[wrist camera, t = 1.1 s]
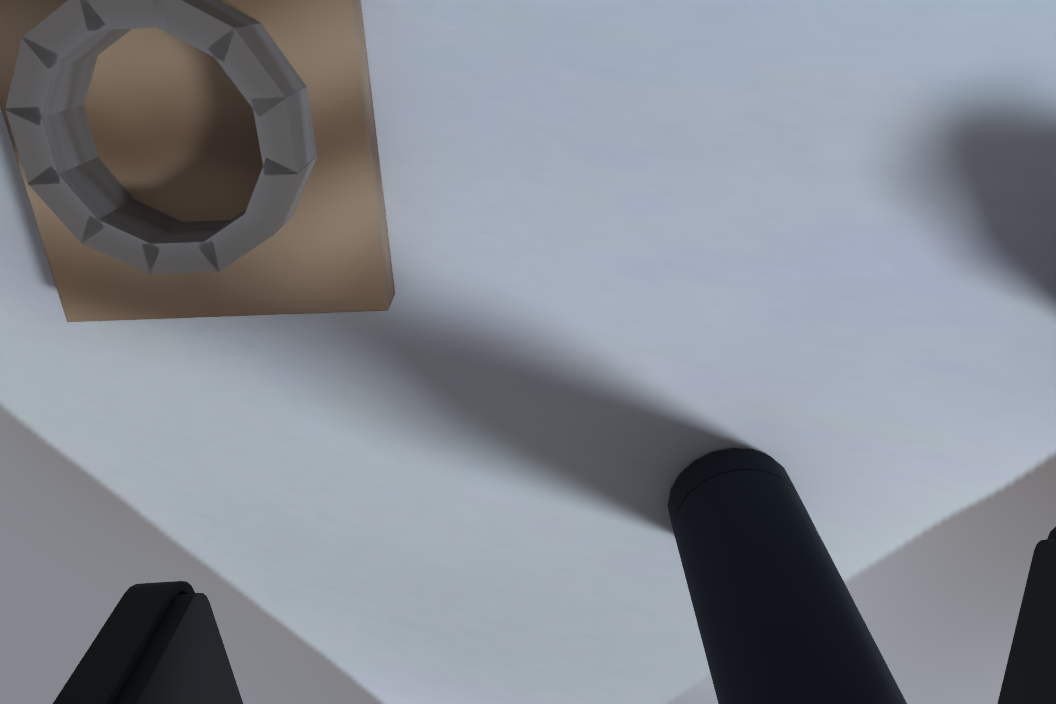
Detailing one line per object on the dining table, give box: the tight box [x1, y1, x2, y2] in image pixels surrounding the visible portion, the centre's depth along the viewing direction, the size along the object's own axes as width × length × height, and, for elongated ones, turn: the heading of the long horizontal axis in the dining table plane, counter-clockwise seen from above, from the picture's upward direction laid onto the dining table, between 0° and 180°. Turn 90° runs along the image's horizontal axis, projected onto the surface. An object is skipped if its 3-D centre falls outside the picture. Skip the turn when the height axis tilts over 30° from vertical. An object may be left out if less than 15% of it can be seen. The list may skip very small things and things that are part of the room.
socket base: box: [0, 0, 395, 322], centre depth 31 cm, size 16×14×5 cm
